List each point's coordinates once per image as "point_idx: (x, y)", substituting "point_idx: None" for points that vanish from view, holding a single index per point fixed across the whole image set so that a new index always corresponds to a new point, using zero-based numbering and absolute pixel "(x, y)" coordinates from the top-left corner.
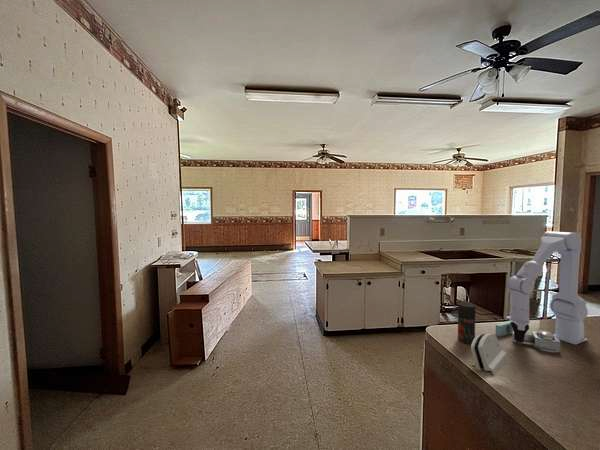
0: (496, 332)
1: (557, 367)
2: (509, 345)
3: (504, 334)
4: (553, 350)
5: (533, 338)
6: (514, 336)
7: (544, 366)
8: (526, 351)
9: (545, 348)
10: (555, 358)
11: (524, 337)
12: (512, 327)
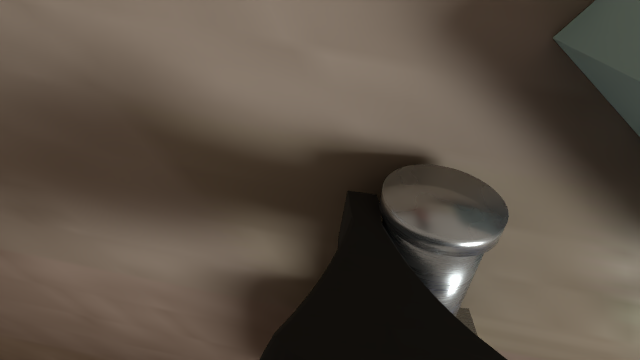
0: (632, 6)
1: (66, 306)
2: (283, 104)
3: (621, 115)
4: None
5: None
6: (383, 216)
7: (9, 254)
8: (216, 215)
9: None
10: (209, 330)
11: None
12: (284, 325)
